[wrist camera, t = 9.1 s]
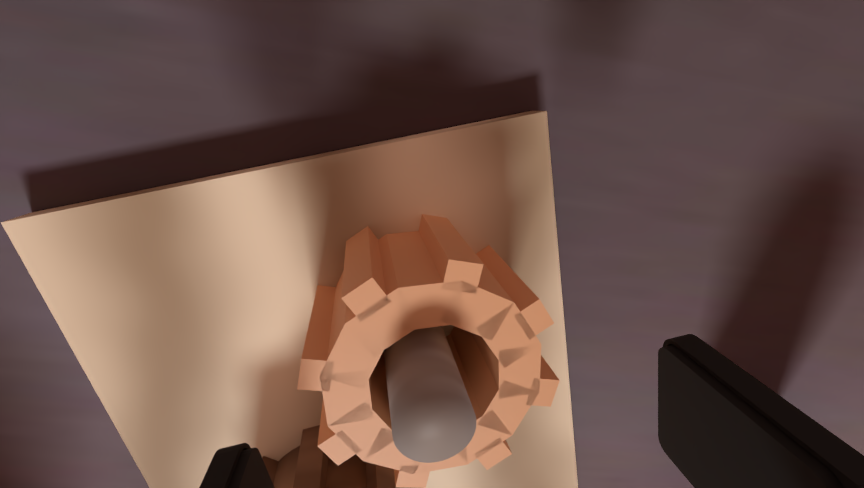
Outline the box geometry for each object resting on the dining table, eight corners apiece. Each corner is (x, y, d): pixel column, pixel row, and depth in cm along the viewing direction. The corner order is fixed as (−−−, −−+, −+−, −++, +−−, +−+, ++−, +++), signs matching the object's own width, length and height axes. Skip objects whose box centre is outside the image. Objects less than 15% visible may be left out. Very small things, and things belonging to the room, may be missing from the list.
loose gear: (443, 173, 14) (480, 203, 10) (538, 322, 17) (600, 397, 12) (271, 291, 14) (236, 369, 10) (390, 420, 17) (401, 525, 13)
